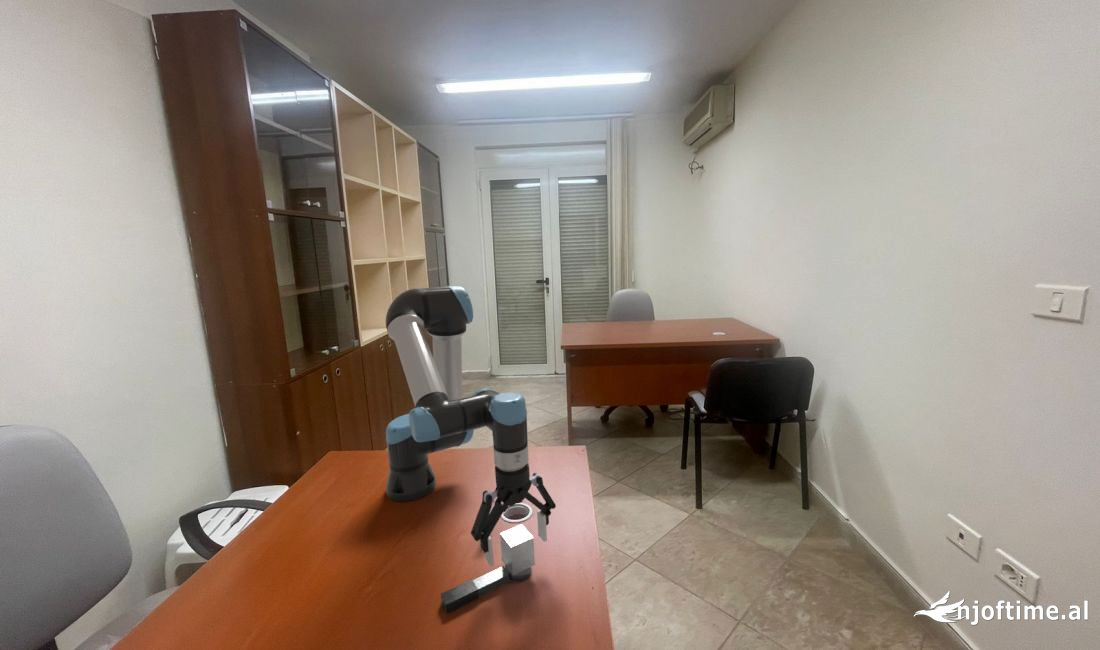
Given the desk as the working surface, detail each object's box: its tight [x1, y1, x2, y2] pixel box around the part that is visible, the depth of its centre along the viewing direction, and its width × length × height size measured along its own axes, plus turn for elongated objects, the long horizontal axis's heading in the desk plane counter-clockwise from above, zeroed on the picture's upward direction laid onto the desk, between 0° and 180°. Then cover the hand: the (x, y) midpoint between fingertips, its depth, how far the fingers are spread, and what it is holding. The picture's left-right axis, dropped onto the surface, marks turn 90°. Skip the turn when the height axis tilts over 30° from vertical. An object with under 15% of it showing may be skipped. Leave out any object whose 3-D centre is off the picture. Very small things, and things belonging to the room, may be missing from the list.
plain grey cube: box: [499, 524, 536, 575], centre depth 93 cm, size 6×6×7 cm
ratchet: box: [440, 564, 532, 615], centre depth 90 cm, size 6×20×6 cm, turn 122°
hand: (517, 549), depth 93 cm, fingers open, 13 cm apart
